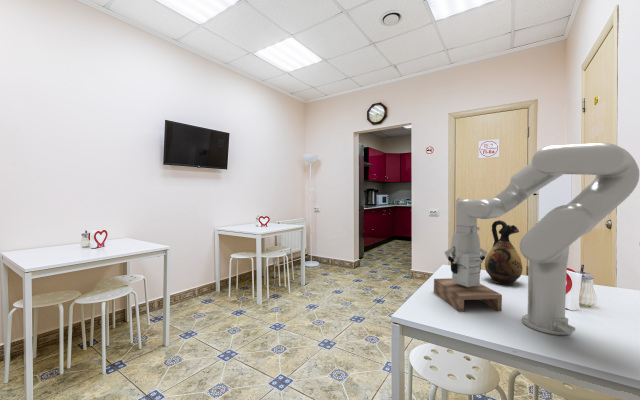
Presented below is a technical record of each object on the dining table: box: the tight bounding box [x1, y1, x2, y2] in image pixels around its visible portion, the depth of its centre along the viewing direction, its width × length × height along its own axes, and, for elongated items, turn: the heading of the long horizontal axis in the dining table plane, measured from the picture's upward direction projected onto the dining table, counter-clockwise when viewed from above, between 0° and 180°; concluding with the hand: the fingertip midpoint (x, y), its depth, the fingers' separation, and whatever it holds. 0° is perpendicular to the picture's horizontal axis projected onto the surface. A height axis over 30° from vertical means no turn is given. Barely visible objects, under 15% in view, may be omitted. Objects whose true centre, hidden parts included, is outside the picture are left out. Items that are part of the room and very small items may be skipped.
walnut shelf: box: [433, 277, 503, 313], centre depth 111 cm, size 20×16×6 cm
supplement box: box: [451, 252, 481, 287], centre depth 111 cm, size 7×7×13 cm
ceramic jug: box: [484, 219, 523, 286], centre depth 135 cm, size 17×15×30 cm
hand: (465, 272), depth 111 cm, fingers closed on supplement box, 9 cm apart
